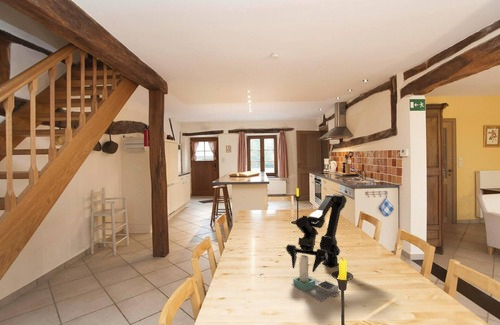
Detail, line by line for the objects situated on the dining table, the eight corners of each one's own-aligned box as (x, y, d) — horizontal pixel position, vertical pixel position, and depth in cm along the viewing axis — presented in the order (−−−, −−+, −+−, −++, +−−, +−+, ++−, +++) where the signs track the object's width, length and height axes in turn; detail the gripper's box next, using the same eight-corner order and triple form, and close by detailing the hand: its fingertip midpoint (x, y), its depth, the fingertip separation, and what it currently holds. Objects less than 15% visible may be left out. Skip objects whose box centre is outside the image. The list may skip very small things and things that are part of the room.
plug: (297, 284, 121) (297, 256, 121) (304, 282, 123) (303, 254, 123) (304, 288, 118) (303, 259, 117) (310, 285, 120) (309, 257, 120)
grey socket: (315, 290, 116) (315, 284, 116) (325, 285, 120) (325, 279, 120) (327, 296, 110) (327, 290, 110) (338, 291, 114) (338, 285, 114)
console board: (290, 286, 121) (290, 284, 121) (310, 277, 129) (310, 276, 129) (321, 303, 107) (321, 301, 107) (341, 293, 114) (341, 291, 114)
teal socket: (293, 284, 121) (293, 278, 121) (304, 279, 125) (303, 274, 125) (304, 290, 116) (304, 284, 116) (315, 285, 120) (315, 280, 119)
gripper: (286, 227, 128) (278, 258, 118) (325, 232, 119) (320, 266, 109) (292, 239, 135) (285, 268, 125) (329, 244, 126) (325, 276, 116)
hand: (302, 269), depth 119 cm, fingers open, 9 cm apart
